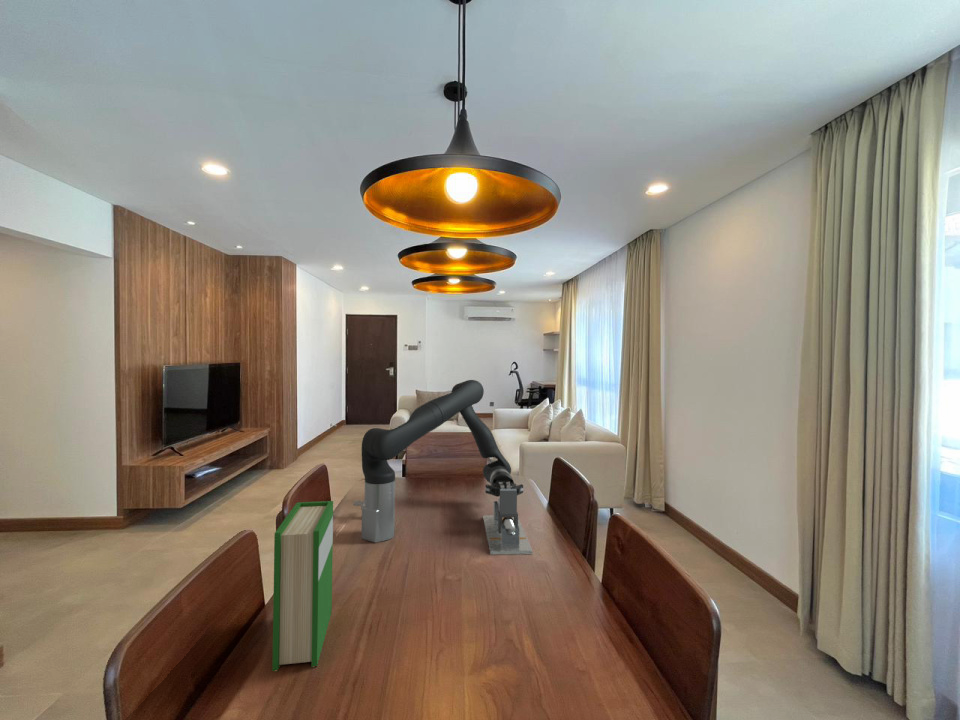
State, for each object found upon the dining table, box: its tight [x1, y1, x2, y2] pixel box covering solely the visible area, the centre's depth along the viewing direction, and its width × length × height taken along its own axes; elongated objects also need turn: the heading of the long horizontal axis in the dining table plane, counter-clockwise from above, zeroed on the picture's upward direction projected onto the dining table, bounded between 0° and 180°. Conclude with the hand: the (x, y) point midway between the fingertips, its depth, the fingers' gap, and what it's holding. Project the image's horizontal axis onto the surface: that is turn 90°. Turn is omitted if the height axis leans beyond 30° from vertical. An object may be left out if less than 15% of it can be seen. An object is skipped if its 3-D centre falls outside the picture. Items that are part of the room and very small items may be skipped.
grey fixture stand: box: [482, 498, 533, 556], centre depth 143 cm, size 30×12×8 cm, turn 3°
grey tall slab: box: [498, 489, 519, 533], centre depth 137 cm, size 2×6×13 cm, turn 93°
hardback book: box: [271, 500, 334, 672], centre depth 88 cm, size 18×7×24 cm, turn 10°
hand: (507, 496), depth 138 cm, fingers closed
